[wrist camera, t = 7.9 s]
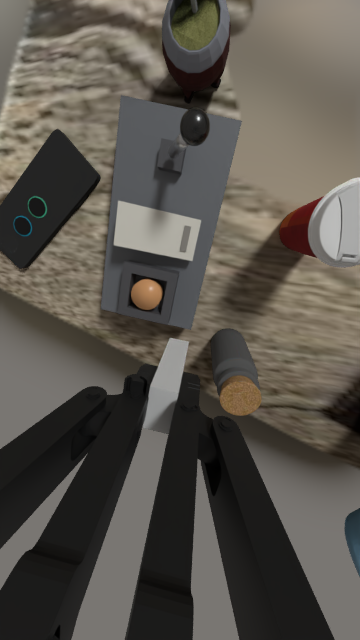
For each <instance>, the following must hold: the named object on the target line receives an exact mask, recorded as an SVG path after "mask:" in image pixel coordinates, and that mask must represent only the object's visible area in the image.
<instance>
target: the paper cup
mask: <svg viewBox="0 0 360 640" xmlns="http://www.w3.org/2000/svg"><path fill="white" fill-rule="evenodd" d="M279 235H280V239H281V241H282V243H283V244H284V245H285V246H286V247H287V248H289V249H291V250H294V251H297V252H300V253H302V254H305V255H309V256H312V257H316V258H318V259H319V260H321V261H322V262H324V263H325V264H328V265H330V266H334V267H352V266H355V265H359V264H360V177H359V178H353V179H351V180H349V181H347V182H345V183H343V184H341V185H339V186H337V187H335V188H334V189H332V190H331V191H330V192H328V193H327V194H326V195H325V196H323V197H321V198H319V199H317V200H315V201H313V202H311V203H309V204H307V205H304V206H302V207H300V208H298V209H296V210H295V211H293V212H291V213H290V214H289V215H287V216H286V218H285V219H284V220H283V222H282V224H281V226H280V231H279Z"/></svg>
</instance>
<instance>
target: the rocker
mask: <svg viewBox="0 0 360 640" xmlns="http://www.w3.org/2000/svg"><path fill="white" fill-rule="evenodd" d="M200 224H201V220H199V219H194V218H190V217H186V216H182V215H177V214H173V213H169V212H165V211H161V210H156V209H152V208H148V207H144V206H140V205H135V204H131V203H127V202H123V201H118V207H117V217H116V226H115V236H114V245H115V246H120V247H125V248H130V249H135V250H140V251H145V252H150V253H155V254H160V255H165V256H170V257H174V258H179V259H184V260H189V261H192V260H193V256H194V251H195V247H196V242H197V238H198V233H199V229H200Z"/></svg>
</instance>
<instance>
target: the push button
mask: <svg viewBox="0 0 360 640" xmlns="http://www.w3.org/2000/svg"><path fill="white" fill-rule="evenodd" d="M163 294H164V290H163V287H162V285H161V283H160V282H159V281H158V280H156V279H154V278H151V277H147V278H144V279H142V280H140V281H139V282H137V283H136V284H135V285H134V286H133V288H132V291H131V297H132V300H133V302H134V304H135V305H136V306H137V307H139V308H141V309H144V310H150V309H153V308H155V307H156V306H157V305H158V304H159V302H160V301H161V299H162V297H163Z"/></svg>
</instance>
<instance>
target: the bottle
mask: <svg viewBox="0 0 360 640" xmlns="http://www.w3.org/2000/svg"><path fill="white" fill-rule="evenodd" d="M211 355H212V368H213V379H214V382H215V385H216V386H217V392H218V395H219V397H220V403H221V405H222V407H223V408H224V409H225V410H226V411H227V412H229V413H231V414H234V415H247V414H250V413H252V412H254V411H255V410H256V409H257V408H258V407H259V405H260V403H261V393H260V391H259V390H260V386H259V382H258V380H257V379H258V374H257V370H256V367H255V364H254V362H253V359H252V357H251V354H250V352H249V350H248V347H247V345H246V342H245V340H244V338H243V336H242V335H241V334H240V333H239V332H238V331H236V330H234V329H222V330H220V331H218V332H217V333H216V334H215V335H214V336H213V338H212V340H211Z"/></svg>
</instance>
